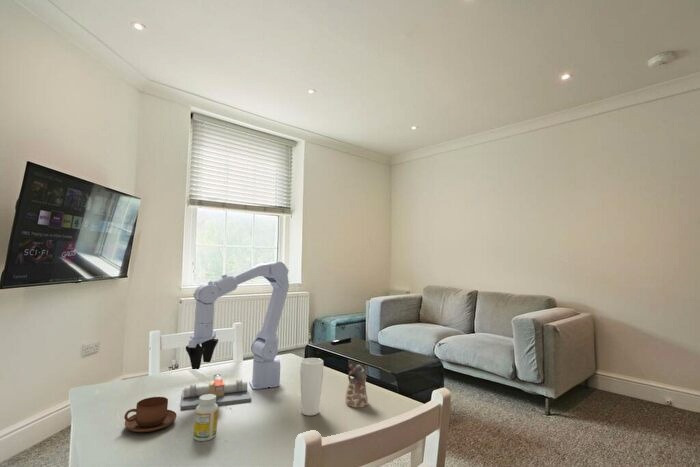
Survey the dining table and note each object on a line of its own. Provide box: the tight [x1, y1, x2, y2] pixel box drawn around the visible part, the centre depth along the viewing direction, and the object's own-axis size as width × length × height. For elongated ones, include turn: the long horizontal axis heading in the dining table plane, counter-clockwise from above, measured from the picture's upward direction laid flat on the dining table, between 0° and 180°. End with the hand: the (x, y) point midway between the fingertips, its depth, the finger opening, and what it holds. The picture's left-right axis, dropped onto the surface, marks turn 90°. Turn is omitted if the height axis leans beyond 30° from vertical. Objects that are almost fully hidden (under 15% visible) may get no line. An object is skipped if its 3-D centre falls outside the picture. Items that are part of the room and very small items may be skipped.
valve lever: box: [212, 373, 225, 392], centre depth 111 cm, size 12×2×2 cm, turn 24°
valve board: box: [180, 379, 252, 411], centre depth 115 cm, size 20×14×5 cm
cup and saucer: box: [123, 396, 177, 433], centre depth 95 cm, size 12×12×6 cm
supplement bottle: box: [193, 394, 219, 442], centre depth 90 cm, size 5×5×10 cm
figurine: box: [345, 364, 369, 408], centre depth 115 cm, size 7×7×12 cm
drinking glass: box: [299, 357, 324, 417], centre depth 106 cm, size 7×7×15 cm
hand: (201, 365), depth 115 cm, fingers open, 7 cm apart
